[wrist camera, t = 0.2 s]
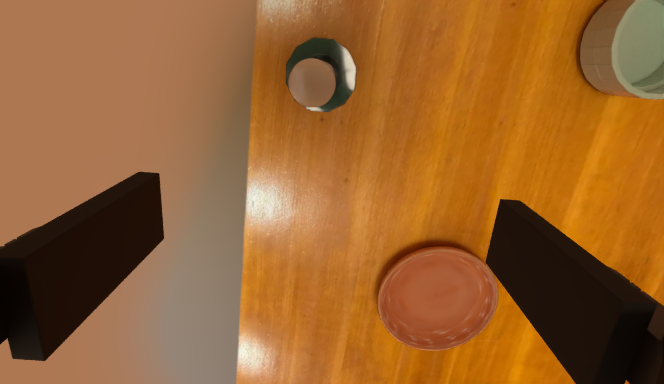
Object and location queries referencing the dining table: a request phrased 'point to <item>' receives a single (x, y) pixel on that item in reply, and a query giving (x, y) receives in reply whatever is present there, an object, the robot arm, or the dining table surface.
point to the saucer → (437, 298)
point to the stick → (312, 82)
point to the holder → (337, 59)
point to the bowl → (626, 49)
